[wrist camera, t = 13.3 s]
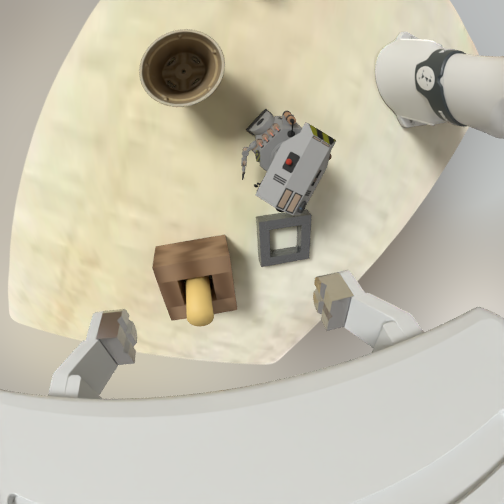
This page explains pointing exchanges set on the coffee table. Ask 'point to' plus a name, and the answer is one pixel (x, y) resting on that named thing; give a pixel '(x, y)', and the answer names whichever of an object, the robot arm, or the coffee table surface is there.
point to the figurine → (288, 160)
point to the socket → (194, 273)
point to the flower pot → (182, 68)
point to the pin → (199, 301)
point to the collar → (283, 221)
